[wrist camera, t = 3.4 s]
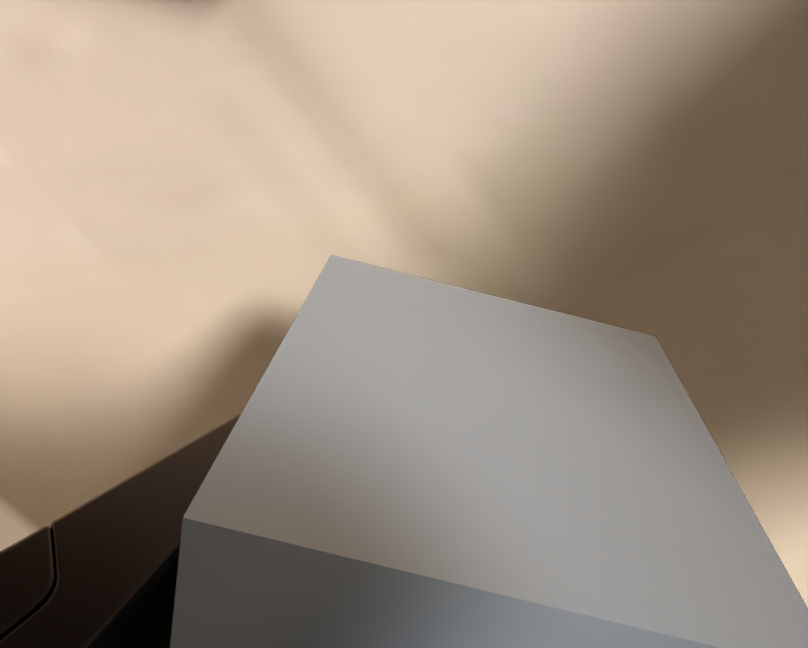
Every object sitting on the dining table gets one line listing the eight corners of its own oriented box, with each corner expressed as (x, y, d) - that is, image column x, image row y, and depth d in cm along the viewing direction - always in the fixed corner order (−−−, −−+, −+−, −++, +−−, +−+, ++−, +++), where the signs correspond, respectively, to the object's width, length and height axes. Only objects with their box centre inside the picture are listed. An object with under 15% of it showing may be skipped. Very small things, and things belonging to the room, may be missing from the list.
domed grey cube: (655, 335, 9) (891, 757, 4) (547, 569, 11) (612, 1041, 6) (331, 254, 9) (149, 578, 4) (283, 505, 11) (123, 930, 6)
